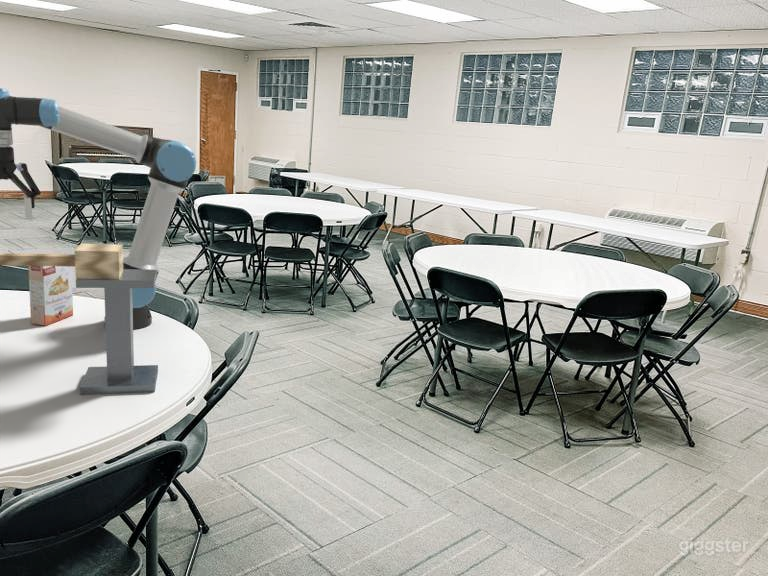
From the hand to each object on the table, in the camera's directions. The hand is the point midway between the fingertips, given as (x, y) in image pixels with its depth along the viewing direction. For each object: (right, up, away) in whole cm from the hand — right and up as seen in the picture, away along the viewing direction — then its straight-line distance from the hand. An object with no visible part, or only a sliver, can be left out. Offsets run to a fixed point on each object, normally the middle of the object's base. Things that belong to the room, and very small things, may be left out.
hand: (4, 221), depth 180 cm
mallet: (+27, -15, -21) cm, 38 cm away
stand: (+38, -45, -10) cm, 59 cm away
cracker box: (-4, -30, +34) cm, 46 cm away
